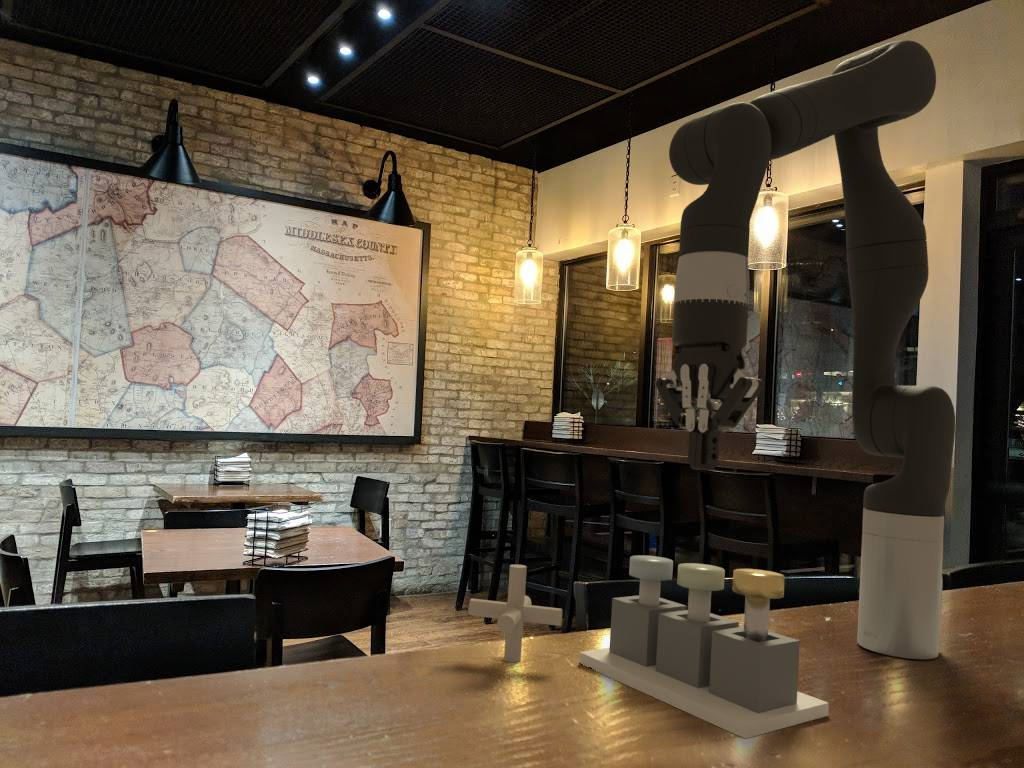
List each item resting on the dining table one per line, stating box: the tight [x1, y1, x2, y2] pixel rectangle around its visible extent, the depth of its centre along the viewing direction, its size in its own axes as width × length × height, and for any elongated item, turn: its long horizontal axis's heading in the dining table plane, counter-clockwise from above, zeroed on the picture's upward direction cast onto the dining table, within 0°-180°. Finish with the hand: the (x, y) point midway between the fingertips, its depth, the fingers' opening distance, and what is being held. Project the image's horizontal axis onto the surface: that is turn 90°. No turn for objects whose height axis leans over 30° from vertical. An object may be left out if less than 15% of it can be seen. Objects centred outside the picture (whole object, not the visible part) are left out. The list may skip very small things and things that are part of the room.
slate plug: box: [628, 554, 674, 607], centre depth 86 cm, size 5×5×8 cm
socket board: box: [578, 595, 830, 740], centre depth 80 cm, size 12×22×7 cm, turn 35°
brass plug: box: [732, 568, 786, 642], centre depth 74 cm, size 5×5×8 cm
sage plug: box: [676, 562, 726, 623], centre depth 80 cm, size 5×5×8 cm
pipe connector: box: [467, 564, 563, 663], centre depth 86 cm, size 10×10×10 cm
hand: (702, 469), depth 81 cm, fingers closed
